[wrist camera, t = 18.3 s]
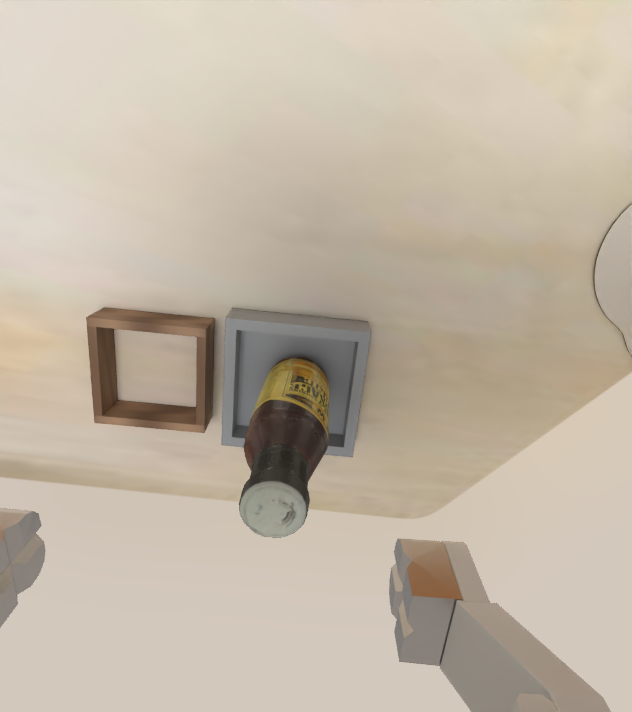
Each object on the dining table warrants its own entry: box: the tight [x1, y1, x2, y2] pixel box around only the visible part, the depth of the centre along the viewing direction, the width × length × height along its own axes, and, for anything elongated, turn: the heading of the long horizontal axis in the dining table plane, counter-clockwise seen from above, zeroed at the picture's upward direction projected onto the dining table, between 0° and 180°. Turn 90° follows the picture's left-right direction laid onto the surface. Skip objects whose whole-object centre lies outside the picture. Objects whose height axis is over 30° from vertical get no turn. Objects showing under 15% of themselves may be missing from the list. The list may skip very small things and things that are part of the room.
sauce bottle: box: [239, 357, 329, 538], centre depth 35 cm, size 6×6×20 cm
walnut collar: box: [86, 308, 215, 433], centre depth 44 cm, size 11×11×4 cm
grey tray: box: [221, 308, 371, 457], centre depth 44 cm, size 13×13×4 cm
